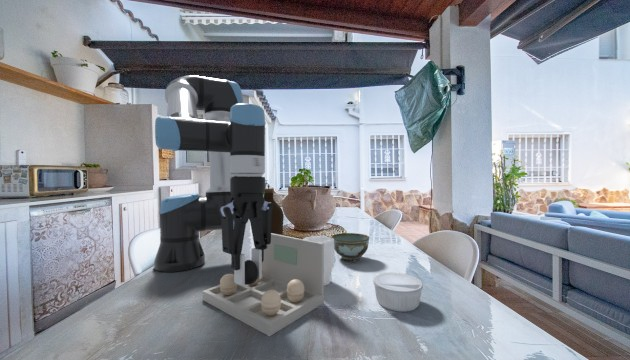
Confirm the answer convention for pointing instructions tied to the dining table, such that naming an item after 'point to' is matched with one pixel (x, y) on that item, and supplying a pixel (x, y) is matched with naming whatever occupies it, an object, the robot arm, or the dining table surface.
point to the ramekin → (398, 291)
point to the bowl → (350, 245)
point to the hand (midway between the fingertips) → (248, 280)
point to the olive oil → (274, 213)
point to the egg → (250, 272)
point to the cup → (325, 254)
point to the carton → (275, 286)
